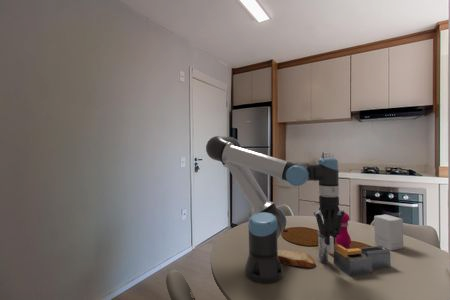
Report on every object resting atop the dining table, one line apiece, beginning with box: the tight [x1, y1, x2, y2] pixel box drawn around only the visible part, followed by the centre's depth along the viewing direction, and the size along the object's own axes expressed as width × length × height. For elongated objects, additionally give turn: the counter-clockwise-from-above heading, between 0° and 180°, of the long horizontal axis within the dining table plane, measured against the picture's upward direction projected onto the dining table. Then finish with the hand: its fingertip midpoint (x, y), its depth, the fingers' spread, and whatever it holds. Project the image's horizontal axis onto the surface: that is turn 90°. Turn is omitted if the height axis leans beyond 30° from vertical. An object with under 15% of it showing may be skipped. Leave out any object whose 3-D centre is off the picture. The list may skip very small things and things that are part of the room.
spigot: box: [316, 230, 329, 264], centre depth 101 cm, size 5×5×13 cm
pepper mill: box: [335, 208, 352, 249], centre depth 113 cm, size 7×7×20 cm
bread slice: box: [278, 249, 317, 269], centre depth 102 cm, size 18×18×4 cm
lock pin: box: [336, 245, 362, 257], centre depth 95 cm, size 9×5×3 cm, turn 100°
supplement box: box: [373, 214, 404, 251], centre depth 115 cm, size 9×9×15 cm
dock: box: [333, 245, 391, 277], centre depth 96 cm, size 22×10×7 cm, turn 100°
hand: (330, 252), depth 93 cm, fingers closed
